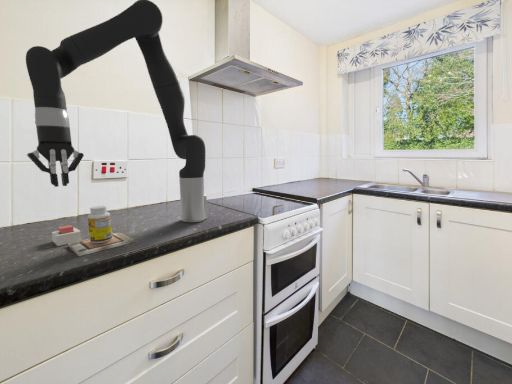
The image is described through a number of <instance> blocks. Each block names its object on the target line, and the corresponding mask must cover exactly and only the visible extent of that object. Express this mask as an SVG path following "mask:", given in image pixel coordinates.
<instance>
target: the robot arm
mask: <svg viewBox="0 0 512 384" xmlns="http://www.w3.org/2000/svg"><path fill="white" fill-rule="evenodd" d="M163 23H164V18H163V13H162V11H161V9H160V7H158V5H157V4H156V3H154V2H153V1H151V0H136V1H135V2H133V3H132V5H130V6H129V7H127V8H126V9H125V10H123V11H122V12H120V13H118V14H117V15H115V16H112V17H110V18H109V19H107V20H105V21H103V22H101V23H99V24H96V25H93V26H91V27H89V28H86V29H84V30H81V31H79V32H76V33H74V34H72V35H70V36H67V37H65V38H64V39H61V41H60V44H59V46H57V47H56V48H54V49H52V50H51V49H49V48H47V47H45V46H40V45H36V46H35V45H34V46H32V47H30V48H29V49H28V50H27V52H26V54H25V65H26V66H25V67H26V70H27V73H28V77H29V81H30V85H31V87H32V93H33V102H34V104H33V105H34V119H35V121H34V123H35V127H36V134H37V135H36V136H37V142H38V145H37V146H36V149H35V150H34V151H32V152H28V153H27V154H26V156H27V157H28V158H29V160H31V162H33V163H34V165H35V166H36V167H37V168H39V170H40V171H41V172H42V173H43V172H44V173H48V174H49V178H50V185H52V186H53V187H54V188H55V187H60V186H59V180H58V179H59V178H58V173H57V167H56V166H57V162H59V166H60V170H61V173H60V176H61V185H62V186H63V187H66V186H68V184H70V179H69V178H70V177H69V173H70V172H74V171H75V170H76V169H77V167H78V166H79V165H80V162H81V161H82V159H83V157H84V156H85V155H84V153H83V152H79V151H77V150H76V149H75V148H74V146H73V144H72V136H71V134H72V133H71V128H70V126H71V125H70V118H69V115H68V111H67V100H66V95H65V92H64V90H63V87H62V81H61V79H63V78H64V77H67V76H69V75H70V74H71V73H73V72H74V71H75V70H77V69H78V68H79V67H81V66H83V65H85V64H87V63H89V62H92V61H94V60H95V59H98V58H100V57H102V56H104V55H106V54H107V53H109V52H110V51H112V50H113V49H115V48H116V47H118V46H120V45H121V44H123V43H125V42H127V41H129V40H132V39H134V38H135V41H136V43H137V44H138V47H139V49H140V52H141V54H142V57H143V59H144V61H145V66H146V69H147V72H148V73H147V74H148V76H149V78H150V82H151V85H152V88H153V90H154V93H155V96H156V98H157V102H158V104H159V105H160V109H161V111H162V113H163V114H162V115H163V118H164V119H165V123H166V126H167V130H168V133H169V137H170V142H171V145H172V149H173V151H174V153H175V155H176V156H177V157H178V158H179V159H181V160H185V165H184V167H182V168H181V169H180V170H179V173H178V174H179V194H180V213H181V221H182V222H184V223H198V222H202V221H205V220H206V219H208V203H207V195H206V194H205V182H204V181H205V178H204V176H205V175H204V173H205V170H206V144H205V141H204V139H203V138H202V137H201V136H200V135H196V134H190V135H189V134H188V132H187V129H186V126H185V122H184V121H185V120H184V113H185V103H186V101H185V94H184V90H183V88H182V85H181V82H180V80H179V79H180V78H179V77H178V75H177V72H176V71H175V69H174V67H173V66H172V63H171V62H170V60H169V59H168V57H167V55H166V52H165V51H164V47H163V43H162V39H161V36H160V31H161V29H162V28H163ZM40 155H41V156H42V157H43V158H44V159H45V160H46V161H47V165H48V167H47V166H46V165H45V164H44V163H43V162H42V161H41V160H40V158H41V156H40ZM71 156H72V158H73V160H72V161H71V163H70V165H69V163H68V160H69V159H70V157H71Z"/></svg>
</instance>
